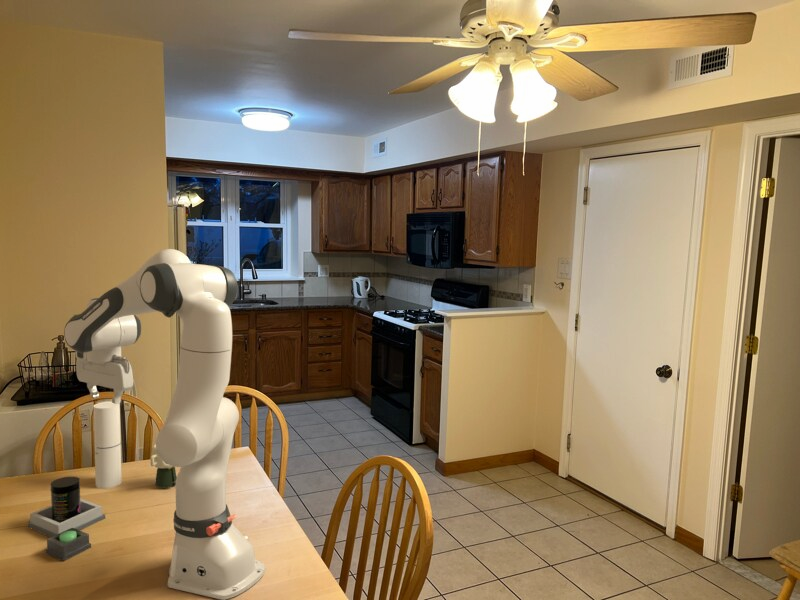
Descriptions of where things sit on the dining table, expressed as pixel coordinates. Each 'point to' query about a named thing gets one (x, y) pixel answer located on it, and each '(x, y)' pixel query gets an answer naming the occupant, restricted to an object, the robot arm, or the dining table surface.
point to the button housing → (67, 545)
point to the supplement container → (65, 498)
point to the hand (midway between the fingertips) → (105, 400)
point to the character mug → (163, 471)
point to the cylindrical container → (107, 444)
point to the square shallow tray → (49, 527)
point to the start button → (68, 536)
